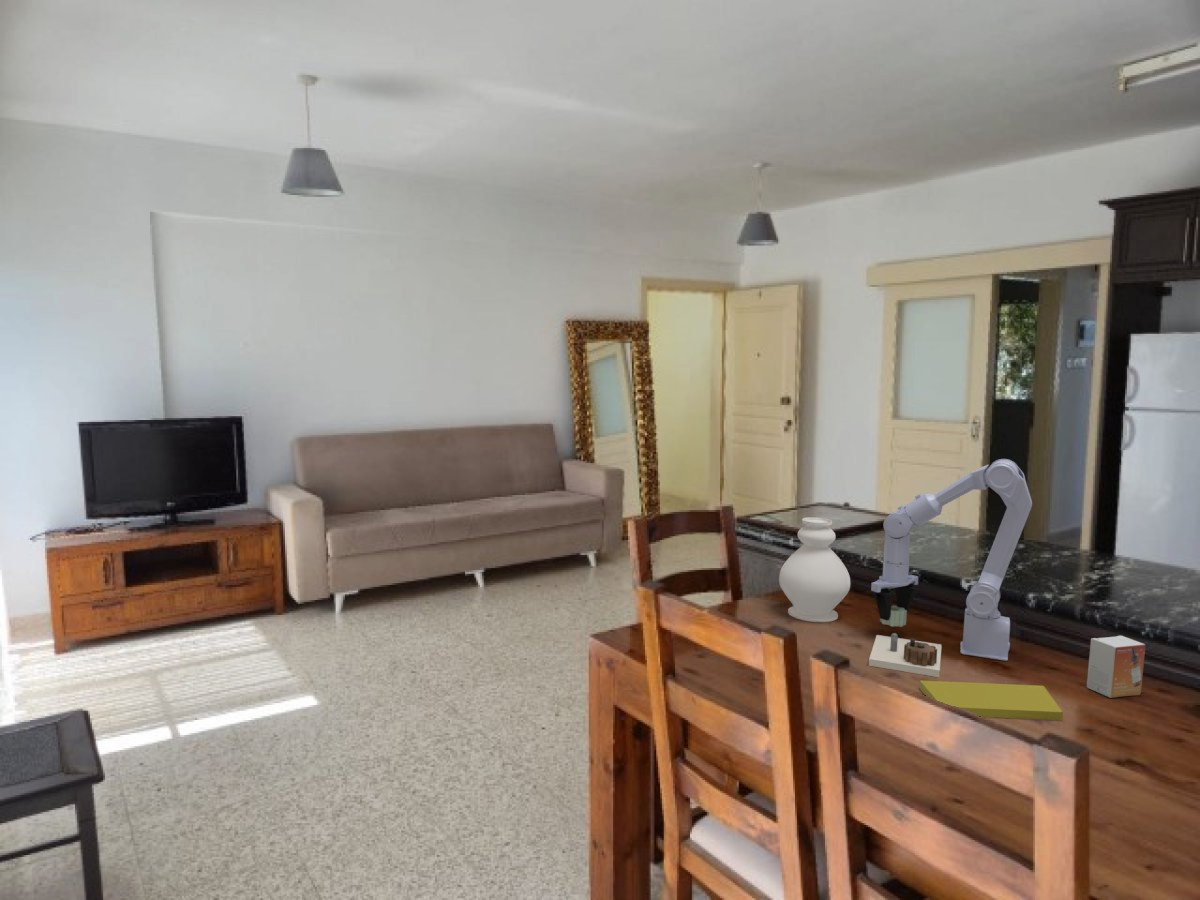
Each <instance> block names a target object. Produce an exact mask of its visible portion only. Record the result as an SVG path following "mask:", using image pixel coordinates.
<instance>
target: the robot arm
mask: <svg viewBox="0 0 1200 900" xmlns="http://www.w3.org/2000/svg"><path fill="white" fill-rule="evenodd" d="M988 488H990V489H992V491H994V492H995V493H996V494H998V495H999V496H1000V498H1001V500H1002V501H1003V503H1004V505H1005V506H1006V509H1005V512H1004V515H1003V517H1002V519H1001V523H1000V525H999V527H998V529H997V530H998V531H997V533H996V535H995V538H994V540H993V544H992V545H991V548H990V550H989V553H988V556H987V558H986V561H985V563H984V566H983V568H982V571H981V574H980V577H979V579H978V580H977V581H975V583H973V585H971V587H970V590H969V593H968V595H967V597H966V600H965V604H966V607H965V609H964V621H963V635H962V636H963V637H962V641H960V654H962V655H966V656H973V657H979V658H985V659H992V660H998V661H999V660H1000V661H1005V662H1007V661H1008V659H1009V651H1010V647H1011V642H1010V634H1011V633H1010V632H1011V620H1010V617H1008V616H1002V615H1001V611H999V609H998V606H999V602H1000V599H1001V591H1000V588H1001V587H1002V584H1003V581H1004V579H1005V575H1006V572H1007V570H1008V568H1009V565H1010V562H1011V561H1012V558H1013V555H1014V552H1015V550H1016V548H1017V545H1018V542H1019V539H1020V538H1021V535H1022V532H1023V530H1024V527H1025V525H1026V522H1027V519H1028V517H1029V514H1030V512H1031V510H1032V506H1033V500H1032V497H1031V494H1030V490H1029V488H1028V484H1027V481H1026V477H1025V474H1024V472H1023V470H1021V468H1020V466H1018V464H1017V463H1016V462H1014V460H1013V461H1012V460H1011V459H1007V458H1001V459H996V460H995V461H993V462H992V463H991V464H990V465H989V464H986V465H984V466H982V467H979V468H977V469H975V470H973V471H970V472H969V473H967V474H966V475H963V477H961V478H959V479H958V480H956V481H954V482H953V483H951V484H950V485H948V486H947V487H945V488H943V489H942V490H940V491H938V492H937V493H935V494H932V493H928V492H927V493H923V494H922V493H918V494H917V495H916V496H914V498H915V499H914V500H912V501H910V502H908V503H906V504H905V505H904V506H903V505H899V506H898V507H897V510H895V511H892V512H891V513H889V515H887V516H886V518H885V519H884V521H883V526H882V527H883V530H884V533H885V535H884V541H883V542H884V544H883V545H884V546H883V563H882V564H883V565H882V575H879V579H877V580H876V581H874V582H871V584H870V585H871V588H870V589H871V590H870V592H871V594H872V596H873V598H874V601H875V602H876V606H877V608H878V609H877V610H878V614H879V619H880V618H881V619H884V620H889V618H890V612H891V606H893V602H894V599H895V597H896V607H900V608H905V610H907V614H909V613H908V612H909V610H910V606H911V604H912V602H913V599H914V597H915V596H916V594H917V593H918V592H919V587H917V586H916V585H919V576H917V575H914V574H913V575H912V574H909V570H910V553H911V550H910V548H911V543H910V539H911V537H910V535H911V533H910V532H911V530H912V529H913V528H914V529H915V528H919V527H921V526H922V525H924V524H926V523H927V522H930V521H931V520H932V519H934V518H936V517H939V516H940V515H941V514H942V511H943V506H945V505H947V504H949V503H951V502H953V501H955V500H957V499H959V498H961V496H964V495H966V494H968V493H969V492H972V491H973V490H978V491H980V490H981V491H983V490H985V491H986V490H988ZM891 589H894V591H895V593H894V592H891Z"/></svg>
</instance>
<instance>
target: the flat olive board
mask: <svg viewBox="0 0 1200 900" xmlns="http://www.w3.org/2000/svg"><path fill="white" fill-rule="evenodd" d="M919 690H920V691H921V692H922V694H923V695H924V696H925V695H926V696H928V697H931V698H933V699H935V700H937V701H940V702H943V703H945V704H948V705H951V706H956V707H959V708H962V709H965V710H967V711H969V712H972V713H974V714H976V715H979V716H981V717H980V718H993V717H1001V718H1000V719H1014V720H1015V719H1019V720H1022V719H1023V720H1038V721H1039V720H1043V721H1044V720H1045V721H1063V715H1064V712H1063V710H1062V709H1061V708H1060V706H1059V705H1058V704H1057V702H1056V701H1055V699H1054V698H1053V696H1052V695H1051V694H1050V692H1049V691H1048V690H1047V688H1046V687H1045V686H1044V685H1037V684H1035V685H1032V684H1028V685H1027V684H1012V683H1011V684H1010V683H1009V684H1008V683H1007V684H1006V683H989V682H988V683H986V682H969V681H968V682H967V681H966V682H965V681H964V682H962V681H945V680H939V681H938V680H937V681H936V680H919ZM926 696H925V697H926Z"/></svg>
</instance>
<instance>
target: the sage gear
mask: <svg viewBox="0 0 1200 900" xmlns="http://www.w3.org/2000/svg"><path fill="white" fill-rule="evenodd" d="M907 616H908V613H907V610H905V608H900V607H897V605H892V606H891V612H890V618H889V620H884V619H881V618H880V617H879V621H880V622H881V624H882V625H886V626H890V627H900V628H902V627H904V626H907Z"/></svg>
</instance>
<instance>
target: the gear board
mask: <svg viewBox="0 0 1200 900" xmlns="http://www.w3.org/2000/svg"><path fill="white" fill-rule="evenodd" d="M908 642H910V639H906V638H902V637H901V638H900V637H899V635H898V634H897V633H896V632H893V633H891V635H890V636H886V635H880V634H876V635H875V639H874V643H873V646H872V648H871V652H870V655H869V658H868V666H869V667H876V668H881V669H887V670H892V671H899V672H905V673H910V674H917V675H923V676H929V677H935V678H940V672H941V660H942V659H941V658H942V644H941V643H934V642H926V641H919V640H915V642H920V643H927V644H929V645H930V646H935V647H936V649H937V662H936V663H934V665H933V666H931V665H927V666H922V665H919V664H917V665H915V664H912V662H907V661H905V658H904V645H905V644H907V643H908Z"/></svg>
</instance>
